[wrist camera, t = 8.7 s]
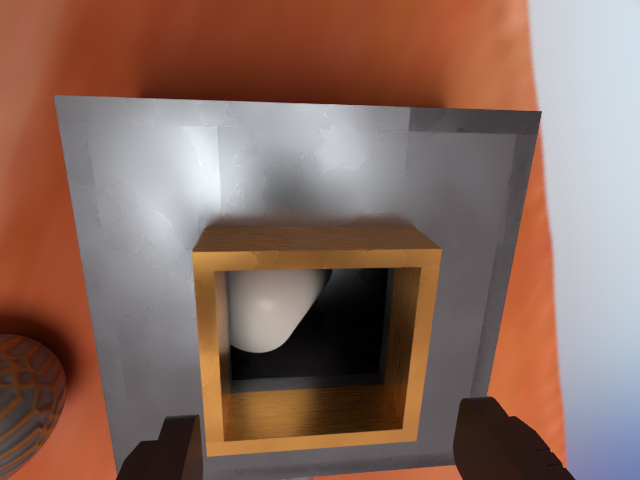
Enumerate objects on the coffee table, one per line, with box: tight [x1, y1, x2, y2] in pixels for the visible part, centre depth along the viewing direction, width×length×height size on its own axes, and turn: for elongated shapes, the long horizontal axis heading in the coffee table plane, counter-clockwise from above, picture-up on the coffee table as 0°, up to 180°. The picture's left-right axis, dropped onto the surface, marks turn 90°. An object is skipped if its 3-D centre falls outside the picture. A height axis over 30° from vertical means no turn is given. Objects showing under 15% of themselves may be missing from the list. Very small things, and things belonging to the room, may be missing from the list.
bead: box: [227, 269, 332, 353], centre depth 19 cm, size 4×4×6 cm
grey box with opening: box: [54, 95, 542, 480], centre depth 19 cm, size 20×16×10 cm
